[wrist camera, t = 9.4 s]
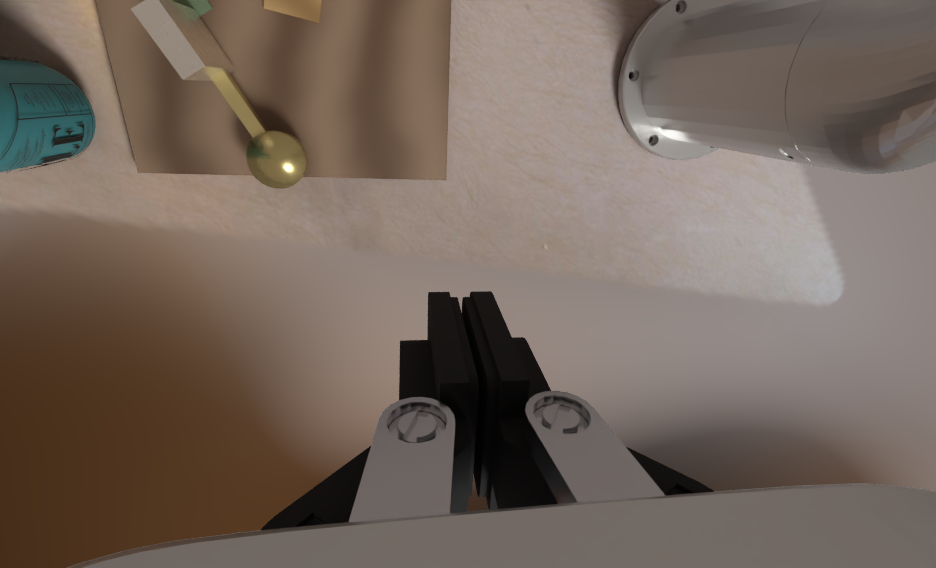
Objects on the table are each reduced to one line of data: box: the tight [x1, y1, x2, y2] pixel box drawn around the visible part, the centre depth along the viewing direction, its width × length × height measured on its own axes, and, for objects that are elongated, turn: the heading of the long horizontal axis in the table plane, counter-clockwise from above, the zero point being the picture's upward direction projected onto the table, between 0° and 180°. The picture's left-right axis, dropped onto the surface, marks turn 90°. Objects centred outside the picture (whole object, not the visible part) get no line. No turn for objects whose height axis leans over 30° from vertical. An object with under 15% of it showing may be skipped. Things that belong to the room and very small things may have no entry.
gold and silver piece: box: [131, 0, 308, 188], centre depth 29 cm, size 14×4×5 cm, turn 27°
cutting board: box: [95, 0, 451, 180], centre depth 32 cm, size 23×13×2 cm, turn 87°
